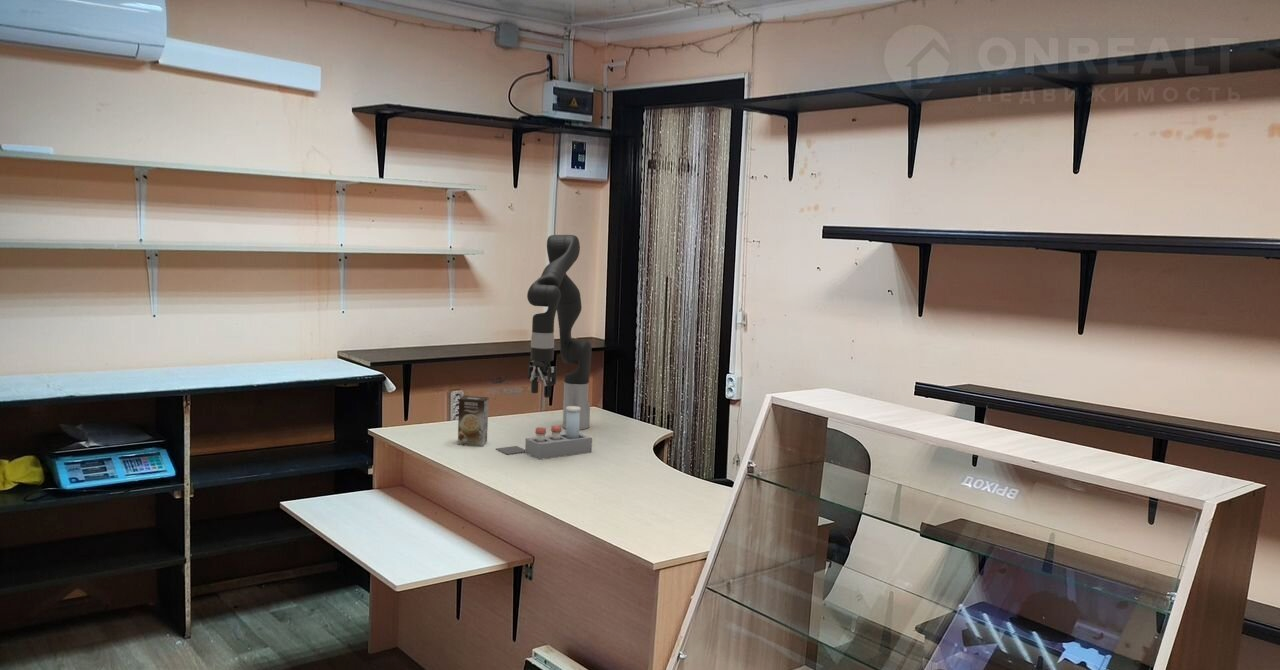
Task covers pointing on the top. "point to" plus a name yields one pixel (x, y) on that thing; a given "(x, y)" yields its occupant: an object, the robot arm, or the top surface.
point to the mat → (511, 450)
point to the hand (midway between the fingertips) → (540, 395)
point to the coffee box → (473, 420)
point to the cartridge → (572, 422)
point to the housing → (558, 446)
